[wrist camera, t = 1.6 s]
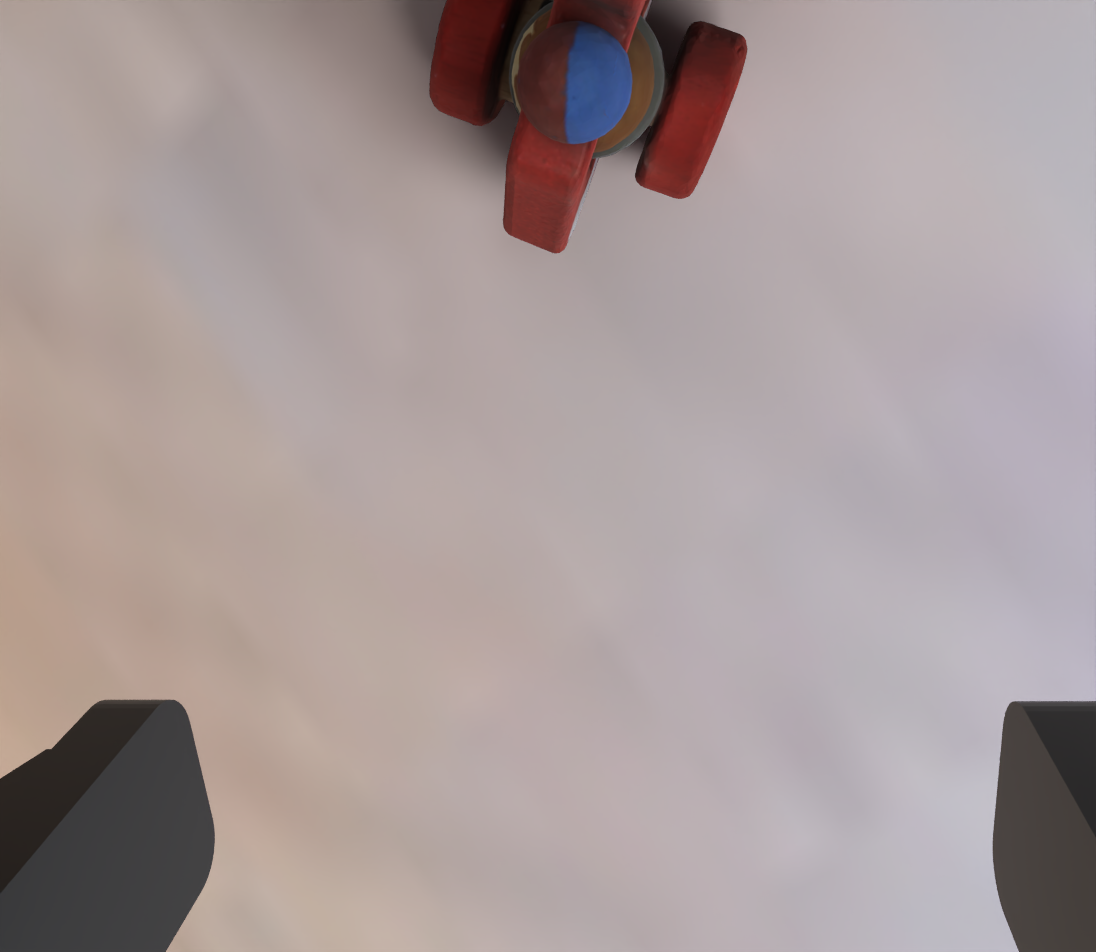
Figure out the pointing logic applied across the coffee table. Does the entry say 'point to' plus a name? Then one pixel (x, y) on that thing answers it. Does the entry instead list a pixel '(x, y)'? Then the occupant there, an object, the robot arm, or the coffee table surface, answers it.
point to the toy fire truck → (582, 98)
